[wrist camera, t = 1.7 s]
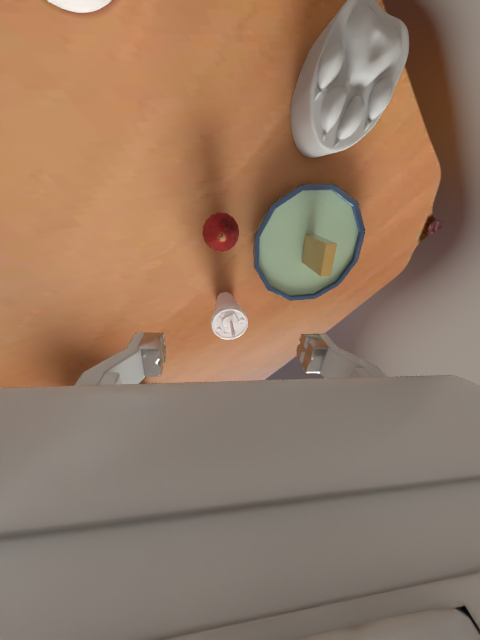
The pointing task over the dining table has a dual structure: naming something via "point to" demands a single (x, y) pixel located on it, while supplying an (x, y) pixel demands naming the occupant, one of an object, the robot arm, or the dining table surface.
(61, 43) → the dining table surface
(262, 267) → the plate
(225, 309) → the smoothie
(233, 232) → the onion
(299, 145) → the lumpy-topped squat cylinder
